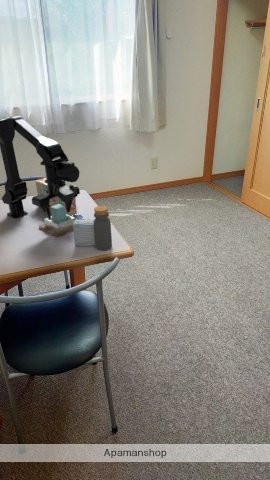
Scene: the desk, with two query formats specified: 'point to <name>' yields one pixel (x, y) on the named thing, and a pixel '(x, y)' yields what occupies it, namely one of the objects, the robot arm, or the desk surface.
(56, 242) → the desk surface
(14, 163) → the robot arm
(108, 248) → the bottle
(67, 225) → the frame
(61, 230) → the base board
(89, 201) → the desk surface
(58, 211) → the teal block
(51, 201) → the stack of blocks
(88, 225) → the medicine box
